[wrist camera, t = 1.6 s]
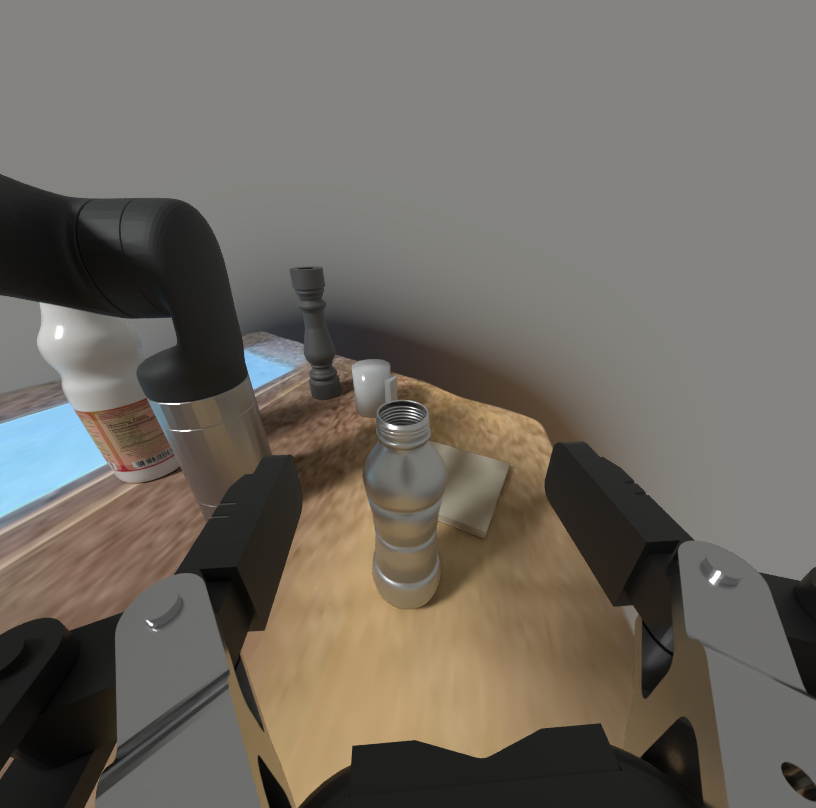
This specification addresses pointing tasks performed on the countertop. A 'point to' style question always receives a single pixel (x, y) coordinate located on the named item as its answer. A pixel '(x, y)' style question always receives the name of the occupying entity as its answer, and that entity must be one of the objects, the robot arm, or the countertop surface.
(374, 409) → the grey mug
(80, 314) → the fruit juice
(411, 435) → the plastic bottle
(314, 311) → the candle holder
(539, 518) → the countertop surface
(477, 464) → the plain beige board
